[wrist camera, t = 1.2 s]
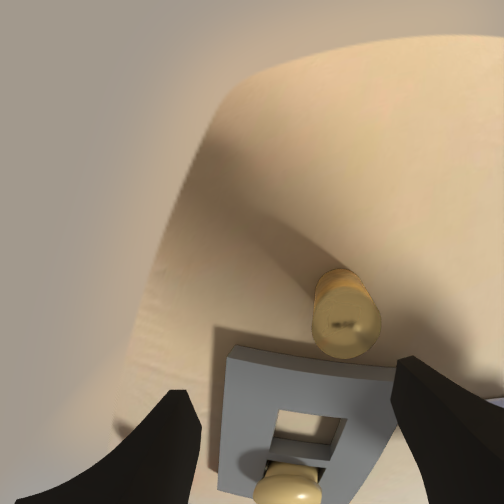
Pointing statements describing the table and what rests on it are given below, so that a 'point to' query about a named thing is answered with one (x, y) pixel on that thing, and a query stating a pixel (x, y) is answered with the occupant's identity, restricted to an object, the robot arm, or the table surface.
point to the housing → (308, 402)
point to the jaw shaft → (344, 315)
